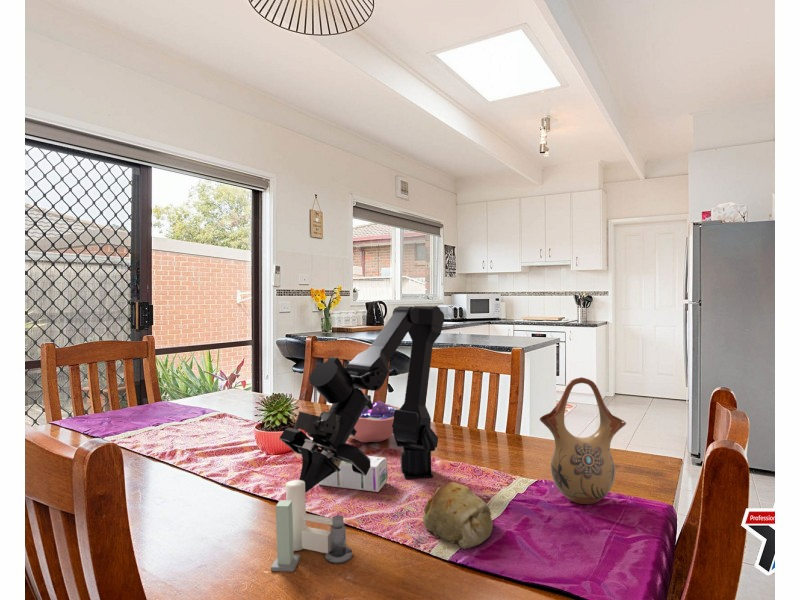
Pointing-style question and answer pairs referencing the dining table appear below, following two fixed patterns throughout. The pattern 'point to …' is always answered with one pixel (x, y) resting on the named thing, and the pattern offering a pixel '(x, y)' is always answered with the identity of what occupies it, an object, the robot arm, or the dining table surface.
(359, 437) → the cell model
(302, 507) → the gate
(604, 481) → the ceramic vessel
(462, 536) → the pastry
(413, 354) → the robot arm
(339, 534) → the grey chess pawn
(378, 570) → the dining table surface
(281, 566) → the post
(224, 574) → the dining table surface
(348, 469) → the syrup box
